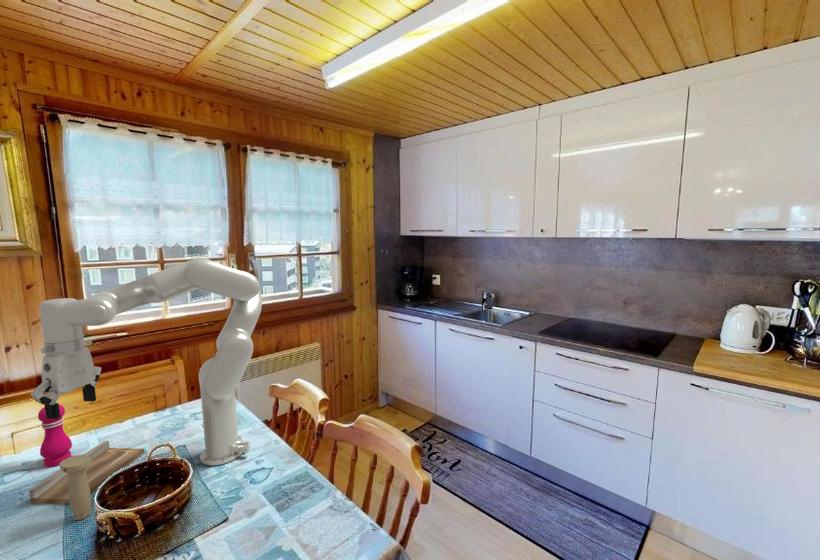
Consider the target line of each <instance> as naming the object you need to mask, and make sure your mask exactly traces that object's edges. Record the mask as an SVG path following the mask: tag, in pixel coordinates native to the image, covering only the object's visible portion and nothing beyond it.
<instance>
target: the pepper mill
mask: <svg viewBox="0 0 820 560" xmlns="http://www.w3.org/2000/svg"><path fill="white" fill-rule="evenodd" d="M58 404H59V403H58ZM59 409H60V418H58V419H47V418H46V413H45V406H44V407H42V408H41V409H40V410H39V412H38V413H37V419H38V420H39V421H40V422H41V429H43V430H44V437H43V441H42V443H41V445H40V449H39V455H40V456H41V457H42V458H44V459H43V466H44V467H45V466H46V467H45V468H52V467H53V468H54V467H57V466H60V462H62V461H63V460H65V459H67V458H69V457H72V456H73V455H72V452H71V449H72V447H73V443H72V439H71V438H70V437H69V435H67V434H66V432H65V430H64V427H63V425H64V423H65V418H64V415H65V413H66V408H65V407H64V406H63V405H62V404H59Z"/></svg>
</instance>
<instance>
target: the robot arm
mask: <svg viewBox="0 0 820 560" xmlns="http://www.w3.org/2000/svg"><path fill="white" fill-rule="evenodd" d="M260 287H261V286H260V282H259V280H258V278H257V276H254V275H253V274H252V273H250V272H248V271H245V270H239V269H236V268H232V267H229V266H226V265H223V264H221V263H218V262H215V261H214V260H211V259H209V258H206V257H197V258H194V259H191V260H188V261H185V262H182V263H180V264H177V265H173V266H171V267H168V268H165V269H162V270H159V271H155V272H153V273H150V274H148V275H144V276H143V277H140V278H138V279H135V280H132V281H130V282H126V283H123V284H120V285H117V286H115V287H112V288H108V289H106V290H103V291H100V292H97V293H95V294H93V295H91V296H90V297H88V298H85V299H84V298H83V299H76V298H73V297H69V298H68V297H64V298H54V299H53V298H52V299H47V300H44V301H42V302H41V303H40V304H39V317H40V324H41V330H42V338H43V339H42V340H43V347H42V348H41V349H40V352H41V353H42V354H45V355H43V357H42V362H41V363H42V364H41V383H40V384H39V385H38V386H37V387H36V388H34V389H33V390H32V391H31V392H30V396H32V398H33V399H34V400H35V402H37V403H39V404H41V405H44V407H45V413H46V418H47V419H58V418H60V409H59V402H57V401H58V400H59V398H60V396H61V395H65V394H68V393H70V392H73V391H75V390H79V388H82V397H83V402H91V403H92V402H93V403H94V402H96V401H97V394H96V387H97V385H98V381H99V379H100V377H101V376H100V375H101V372H102V367H101V366H95V365H94V360H93V357H92V354H91V351H90V349H89V348H88V346H86V345H85V340H84V339H85V337H84V332H83V331H84V330H83V327H84V326H85V327H86V326H87V327H98V326H104V325H106V324H108V323H110V322H111V321H112V320H113V319H114V318H115V316H117V315H119V314H122V313H125V312H127V311H129V310H133V309H136V308H138V307H141V306H144V305H148V304H158V303H165V302H168V301H170V300H172V299H175V298H177V297H180V296H183V295H185V294H188V293H190V292H193V291H195V290H196V291H197V289H198V290H202V291H206V292H209V293H212V294H216V295H219V296H223V297H226V298H229V299H233V303H232V307H231V310H230V312H229V314H228V317H227V319H226V321H225V324H224V325H223V327H222V329H221V331H220V332H219V334H218V336H217V338H216V342H215V345H216V349H217V351H216V352H215V355H214V357H211V358H209V359H207V360H205V361H204V362H203V364H202V366H201V367H200V368H199V372H198V381H199V382H198V383H199V391H200V401H201V412H202V413H201V414H202V425H203V427H202V428H203V438H204V448H205V449H204V450H202V452H200V455H199V460H200V462H201V463H202V464H203V465H205V466H220V465H224V464H227V463H229V462H233V461H235V460H236V459H238V458H239V457H240V456H241V455H242V454H243V452H249V451H250V448H251V446H250V441H248V440H247V441H246V440H245V441H243V440H242V436H241V435H239V431H238V429H239V428H238V418H237V402H236V400H237V399H236V389H237V387H238V386H239V384H240V382H241V380H242V378H243V376H244V373H245V372H246V369H247V367H248V365H249V363H250V361H251V358H252V355H253V352H254V342H253V339H252V338H251V337H252V334H253V332H254V329H255V327H256V325H257V323H258V320H259V317H260V315H261V312H262V308H263V307H262V306H263V298H262V293H261V290H260Z"/></svg>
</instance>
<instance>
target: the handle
mask: <svg viewBox="0 0 820 560" xmlns="http://www.w3.org/2000/svg"><path fill="white" fill-rule="evenodd" d="M71 456H72V457H69V458H67V459H65V460H63V461H62V462H60V465H59V468H60V469H61V470H62V471H63V472H65V473H68V483H69V501H70V504H69V507H70V510H71V512H72V515H73V518H74V521H76V520H78V521H80V520H85V519H86V518H87V517H88V515H89V516H91V506H92V497H91V495H92V494H90V488H89V483H88V478H87V473H86V467H87V466H89V465H90V464H91V462H92V460H91V457H90V456H88V455H83V454H77V455H71ZM85 517H86V518H85ZM84 518H85V519H84Z"/></svg>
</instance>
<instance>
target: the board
mask: <svg viewBox="0 0 820 560" xmlns="http://www.w3.org/2000/svg"><path fill="white" fill-rule="evenodd" d="M143 454H145V449H144V448H137V447H136V448H131V447H130V448H127V447H126V448H125V447H124V448H123V447H117V448H116V447H110V441H109V440H103V441H102V442H100V443H99V444H97V445H96V446H94V447H93V448H91V449H90V450H89V449H88V450H87V451H86V452H85V453H83V454H82V455H88V456H90V457H91V460H92V462H91V464H90V465H89V466H87V467H86V473H87V478H88V483H89V488H90V494H91V495H92V494H94V493H95V492H97V490H98V489H97V488H98V487H99V486H100V485H101V484H102V483H103V482H104V481H105V480H106V479H107V478H108V477H109V476H111V475H112V474H113V473H114V472H116V471H118V470H120V469H121V468H123V467H125V466H127V465H128V466H130V465H131V464H132V463H134V461H136V460H137V459H138V458H140V457H141V456H142V455H143ZM129 464H130V465H129ZM128 466H127V467H128ZM28 494H29V500H30V504H38V505H39V504H40V505H45V504H46V505H70V501H69V483H68V473H65V472H63V471H62V470H61V468H60V469H58V470H56V471H55V472H54V473H52V474H50V475H49V476H47V477H46V478H45V479H43V480H41V481H40V482H38V483H37V484H35V485H33V486H32V487H30V488H29V489H28Z"/></svg>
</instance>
